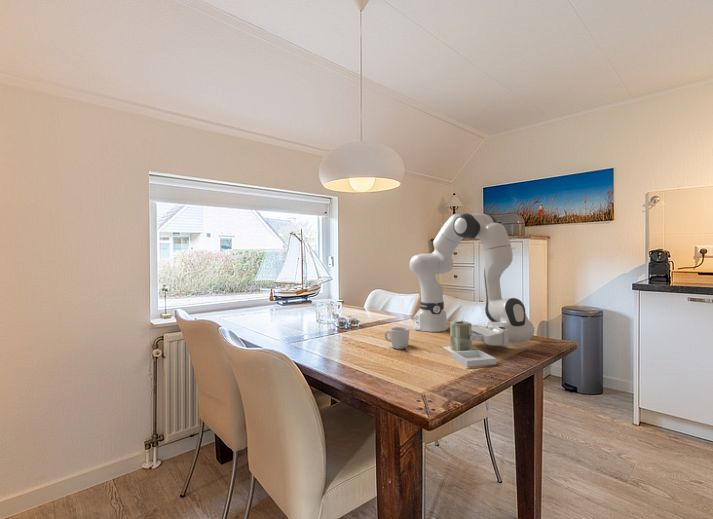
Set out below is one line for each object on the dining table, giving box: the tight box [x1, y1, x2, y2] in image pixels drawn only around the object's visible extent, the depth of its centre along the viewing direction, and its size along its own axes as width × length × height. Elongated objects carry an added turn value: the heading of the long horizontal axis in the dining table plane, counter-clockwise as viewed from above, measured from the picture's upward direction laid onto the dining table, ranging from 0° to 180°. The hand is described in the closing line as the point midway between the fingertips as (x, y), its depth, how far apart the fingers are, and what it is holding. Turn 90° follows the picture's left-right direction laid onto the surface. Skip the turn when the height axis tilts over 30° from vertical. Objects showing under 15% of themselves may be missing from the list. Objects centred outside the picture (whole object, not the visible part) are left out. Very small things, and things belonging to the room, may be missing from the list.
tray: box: [451, 349, 497, 370], centre depth 127 cm, size 11×11×3 cm
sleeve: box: [449, 320, 473, 352], centre depth 140 cm, size 6×6×11 cm
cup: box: [384, 326, 410, 350], centre depth 150 cm, size 11×8×8 cm
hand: (463, 335), depth 141 cm, fingers open, 8 cm apart
